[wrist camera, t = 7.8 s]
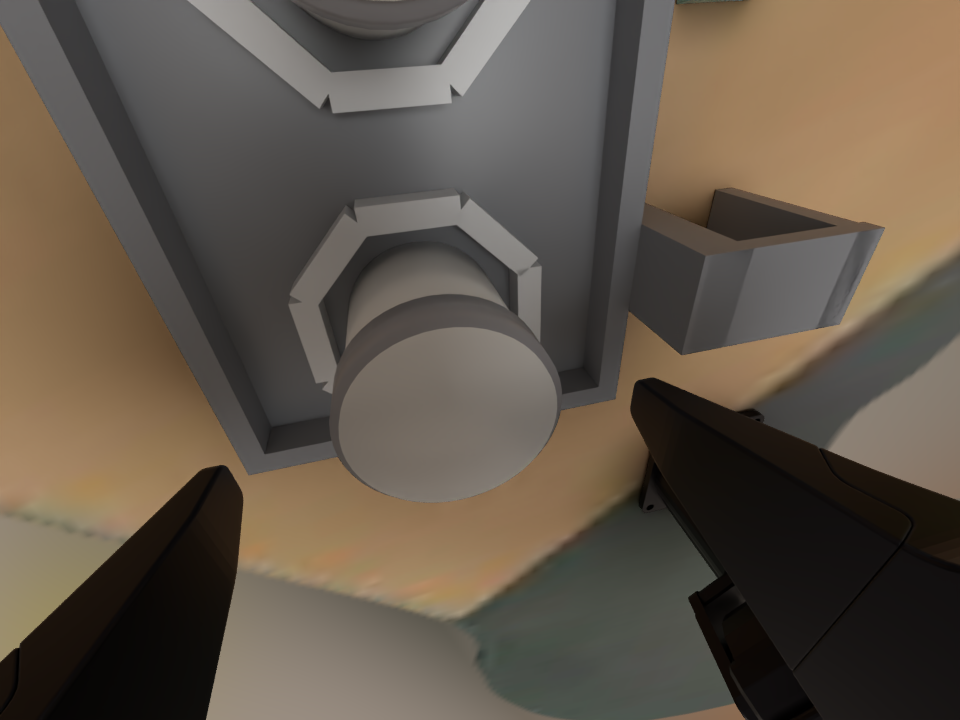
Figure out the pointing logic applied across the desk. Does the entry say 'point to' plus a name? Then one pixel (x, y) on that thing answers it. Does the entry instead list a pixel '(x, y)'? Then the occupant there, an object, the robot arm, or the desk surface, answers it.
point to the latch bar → (701, 1)
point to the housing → (406, 188)
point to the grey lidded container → (438, 380)
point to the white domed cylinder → (377, 15)
